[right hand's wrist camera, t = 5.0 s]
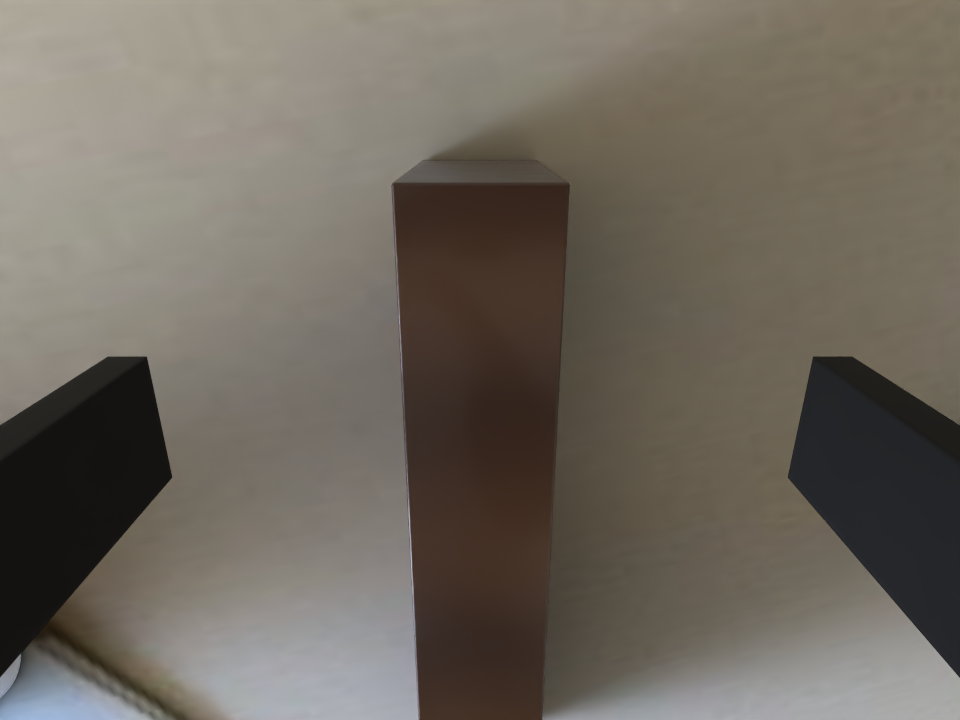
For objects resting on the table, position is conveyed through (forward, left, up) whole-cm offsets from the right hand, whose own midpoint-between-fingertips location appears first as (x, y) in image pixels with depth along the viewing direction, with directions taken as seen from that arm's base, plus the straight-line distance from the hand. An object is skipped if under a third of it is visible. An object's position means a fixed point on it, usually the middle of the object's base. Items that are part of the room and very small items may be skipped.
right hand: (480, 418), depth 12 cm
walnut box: (0, +13, -17) cm, 21 cm away
